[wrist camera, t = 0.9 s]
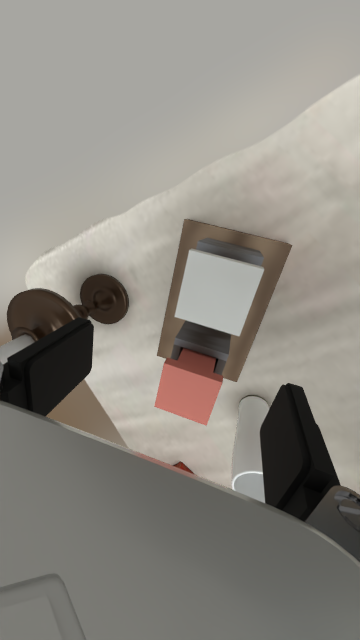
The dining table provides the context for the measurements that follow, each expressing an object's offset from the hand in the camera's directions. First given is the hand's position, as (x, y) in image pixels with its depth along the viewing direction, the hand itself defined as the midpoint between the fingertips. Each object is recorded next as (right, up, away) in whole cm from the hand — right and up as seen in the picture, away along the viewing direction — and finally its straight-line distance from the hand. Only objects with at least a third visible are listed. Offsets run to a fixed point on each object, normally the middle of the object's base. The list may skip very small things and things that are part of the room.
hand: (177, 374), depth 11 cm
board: (+6, +5, +26) cm, 27 cm away
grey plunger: (+5, +8, +17) cm, 19 cm away
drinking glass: (+14, -13, +32) cm, 37 cm away
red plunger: (+3, -3, +22) cm, 22 cm away
